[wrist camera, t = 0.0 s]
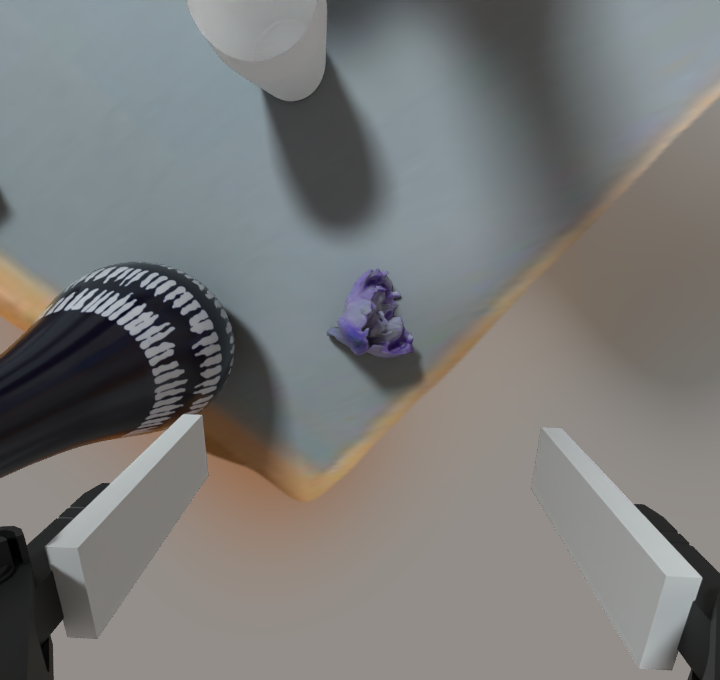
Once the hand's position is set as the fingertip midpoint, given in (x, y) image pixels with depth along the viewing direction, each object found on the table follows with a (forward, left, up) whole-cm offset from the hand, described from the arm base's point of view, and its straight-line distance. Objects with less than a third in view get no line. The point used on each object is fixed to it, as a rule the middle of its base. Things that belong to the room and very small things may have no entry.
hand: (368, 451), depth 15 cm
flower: (+1, 0, -28) cm, 28 cm away
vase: (+3, -21, -28) cm, 35 cm away
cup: (-23, -8, -28) cm, 37 cm away
